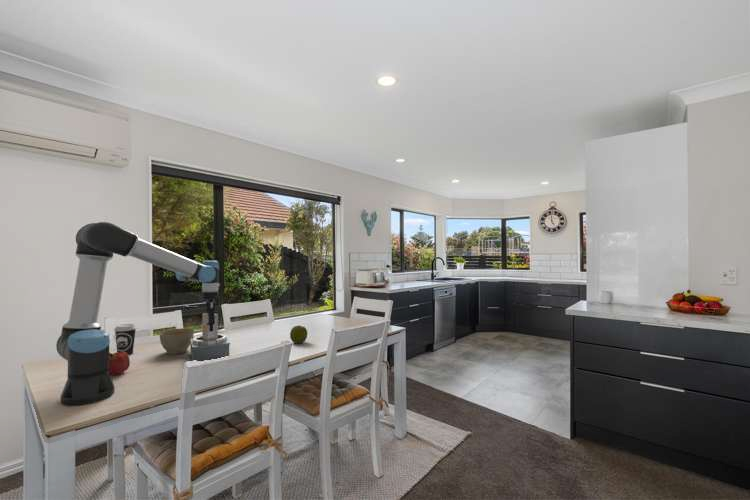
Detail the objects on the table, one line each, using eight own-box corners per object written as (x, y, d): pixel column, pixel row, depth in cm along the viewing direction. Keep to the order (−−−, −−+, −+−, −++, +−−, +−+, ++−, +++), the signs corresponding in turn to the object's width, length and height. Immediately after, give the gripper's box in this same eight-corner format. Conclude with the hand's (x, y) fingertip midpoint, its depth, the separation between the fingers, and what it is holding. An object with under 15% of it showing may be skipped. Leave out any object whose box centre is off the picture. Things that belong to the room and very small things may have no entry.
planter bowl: (185, 346, 195) (185, 326, 195) (199, 351, 186) (200, 330, 186) (153, 352, 182) (153, 332, 182) (167, 358, 172) (167, 336, 173)
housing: (229, 359, 172) (230, 338, 172) (192, 364, 163) (192, 343, 163) (224, 349, 189) (224, 330, 190) (189, 353, 181) (189, 334, 181)
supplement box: (218, 340, 174) (218, 314, 174) (208, 341, 170) (208, 315, 170) (211, 337, 179) (211, 312, 179) (201, 339, 176) (202, 313, 176)
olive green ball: (287, 344, 200) (287, 325, 200) (293, 340, 209) (294, 322, 209) (303, 345, 198) (303, 326, 198) (309, 341, 208) (309, 323, 208)
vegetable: (101, 380, 142) (101, 356, 142) (96, 374, 149) (96, 351, 149) (132, 373, 150) (133, 350, 151) (126, 368, 157) (127, 346, 158)
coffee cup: (139, 353, 180) (140, 324, 180) (118, 358, 172) (119, 328, 172) (131, 350, 185) (131, 322, 185) (110, 355, 177) (110, 325, 177)
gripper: (221, 292, 168) (220, 339, 167) (215, 288, 186) (215, 330, 186) (204, 293, 164) (203, 341, 163) (200, 289, 182) (199, 332, 182)
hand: (209, 335), depth 175 cm, fingers closed on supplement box, 9 cm apart
